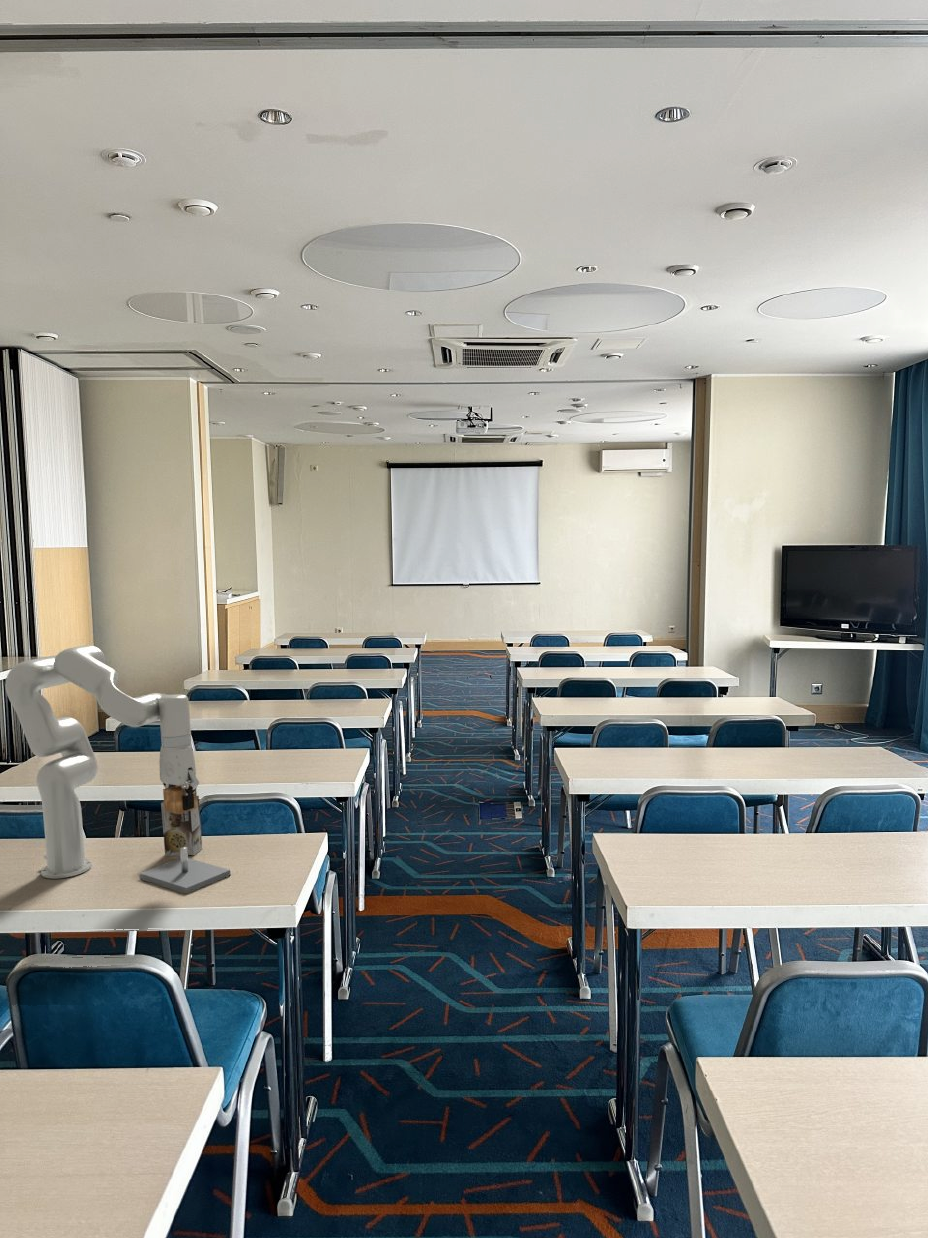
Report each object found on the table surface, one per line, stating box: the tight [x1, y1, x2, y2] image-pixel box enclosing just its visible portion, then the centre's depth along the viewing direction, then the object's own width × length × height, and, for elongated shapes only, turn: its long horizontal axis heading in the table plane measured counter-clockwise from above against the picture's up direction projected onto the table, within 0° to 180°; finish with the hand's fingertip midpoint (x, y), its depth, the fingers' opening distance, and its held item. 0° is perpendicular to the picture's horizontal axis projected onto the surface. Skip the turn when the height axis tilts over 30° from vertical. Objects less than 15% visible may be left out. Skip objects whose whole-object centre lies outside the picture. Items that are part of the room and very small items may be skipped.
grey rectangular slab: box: [139, 857, 232, 894], centre depth 222 cm, size 20×14×2 cm
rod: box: [180, 847, 189, 873], centre depth 222 cm, size 2×2×6 cm
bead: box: [162, 785, 198, 814], centre depth 220 cm, size 6×6×6 cm
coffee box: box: [160, 795, 203, 857], centre depth 241 cm, size 9×6×16 cm
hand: (180, 806), depth 220 cm, fingers closed on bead, 5 cm apart
